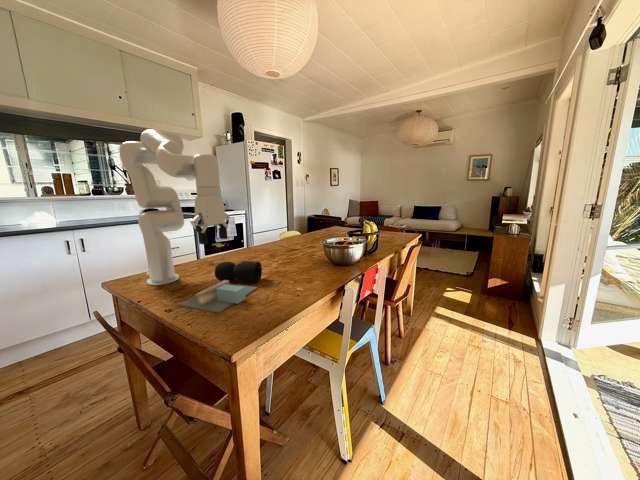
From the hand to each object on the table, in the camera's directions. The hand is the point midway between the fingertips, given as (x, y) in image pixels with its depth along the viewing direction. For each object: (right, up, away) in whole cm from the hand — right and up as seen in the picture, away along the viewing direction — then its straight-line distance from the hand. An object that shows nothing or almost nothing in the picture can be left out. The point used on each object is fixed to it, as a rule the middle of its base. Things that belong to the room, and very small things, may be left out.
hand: (214, 241), depth 90 cm
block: (+1, -19, +3) cm, 19 cm away
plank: (-2, -22, +5) cm, 22 cm away
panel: (0, -21, +7) cm, 22 cm away
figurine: (+2, -18, +23) cm, 29 cm away
